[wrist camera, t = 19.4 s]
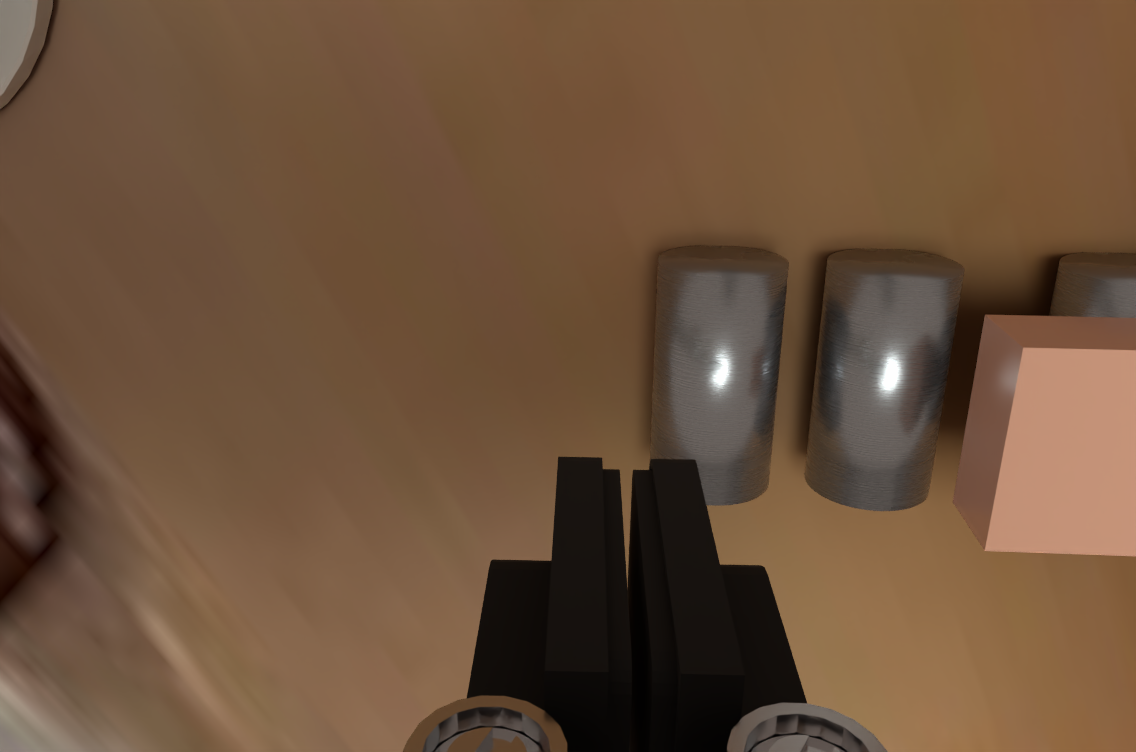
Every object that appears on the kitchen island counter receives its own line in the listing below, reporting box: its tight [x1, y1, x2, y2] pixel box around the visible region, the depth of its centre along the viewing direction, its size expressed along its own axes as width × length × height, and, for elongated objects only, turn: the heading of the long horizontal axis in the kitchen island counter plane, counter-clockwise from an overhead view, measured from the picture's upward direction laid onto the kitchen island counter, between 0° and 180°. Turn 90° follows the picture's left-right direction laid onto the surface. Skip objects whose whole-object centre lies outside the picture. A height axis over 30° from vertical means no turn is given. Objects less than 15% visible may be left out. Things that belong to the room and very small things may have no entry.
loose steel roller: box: [1049, 252, 1136, 318], centre depth 30 cm, size 4×8×4 cm, turn 0°
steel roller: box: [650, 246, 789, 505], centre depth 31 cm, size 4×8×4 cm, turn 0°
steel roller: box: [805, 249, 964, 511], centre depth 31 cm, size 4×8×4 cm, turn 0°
